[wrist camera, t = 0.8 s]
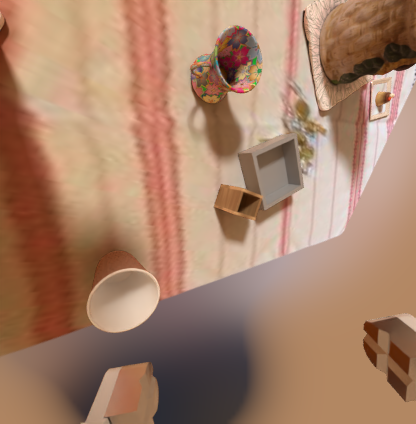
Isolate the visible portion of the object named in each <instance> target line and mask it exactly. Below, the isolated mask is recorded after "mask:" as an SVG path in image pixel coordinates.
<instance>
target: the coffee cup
mask: <svg viewBox="0 0 416 424" xmlns="http://www.w3.org/2000/svg"><path fill="white" fill-rule="evenodd" d="M159 298H160V287H159V284H158V282H157V280H156V278H155V277H154V276H153V275H152V274H150V273H149V272H147V271H146V270H145V269H144V268H143V266H142V265H141V264H140V263H139V262H138V261H137V260H136V259H135V258H134V257H133V256H132V255H131V254H129V253H127V252H125V251H113V252H110V253H108V254H106V255H105V256H104V257H103V258H102V259H101V260H100V262H99V263H98V265H97V267H96V272H95V277H94V281H93V286H92V291H91V293H90V295H89V298H88V301H87V315H88V318H89V320H90V321H91V323H92V324H93V325H94V326H95V327H97V328H98V329H100V330H103V331H105V332H111V333H117V332H124V331H128V330H131V329H133V328H135V327H137V326H139V325H140V324H142V323H143V322H144V321H145V320H147V319H148V318H149V317H150V315H151V314H152V313H153V312H154V310H155V308H156V307H157V304H158V302H159Z"/></svg>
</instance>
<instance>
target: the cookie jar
mask: <svg viewBox="0 0 416 424" xmlns="http://www.w3.org/2000/svg"><path fill="white" fill-rule="evenodd" d="M303 11H304V10H303ZM304 27H305V32H306V36H307V39H308V44H309V55H310V61H311V67H312V72H313V79H314V84H315V91H316V98H317V102H318V106H319V108H320V110H322V111H327V110H330V109H331V108H332V107H333V106H334V105H336V104H337V103H338V102H340V101H342V100H344V99H346V98H347V97H348V96H349V95H351V94H352V93H353V92H355V91H356V90H358V89H359V88H360V87H362V86H363V85H365V84H367V83H369V82H370V81H371V80H372V79H373V76H374V75H384V74H386V73H389V72H390V71H392V70H396V71H402V70H406V69H408V68H410V67H412V66H413V65H415V64H416V0H319V1H318V2H316V1H314V2H313V3H312V4H310V5H308V6H307V7H306V8H305V16H304Z"/></svg>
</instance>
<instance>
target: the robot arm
mask: <svg viewBox="0 0 416 424" xmlns="http://www.w3.org/2000/svg"><path fill="white" fill-rule="evenodd" d="M3 25H4V16H3V14H2V12H1V11H0V30H1V28H2V27H3ZM364 330H365V331H366V333H367V335H366V336H365V337H364V339H363V343H364V344H363V346H364V349H365V352H366V355H367V356H368V358H369V360H370V361H371V362H372V364H373V365H374V366H375V367H376V368H377V369H379V370H380V371H382V372H384V373H386V376H387V381H388V382H389V384H390V385H391V386H392V387H393V388H394V389H395V390H396V392H397V393H398V394H399V395H400V396H401V397H402V399H403V400H404V401H405V402H409V401H415V400H416V318H414V317H413V316H412V315H409V314H407V313H405V314H400V315H394V316H388V317H383V318H378V319H374V320H369V321H366V322H365V323H364ZM152 373H153V367H152V364H151V362H147V363H141V364H134V365H128V366H123V367H117V368H111V369H109V370H108V371H107V372H106V373H105V376H104V378H103V380H102V383H101V385H100V388H99V390H98V393H97V395H96V398H95V400H94V403H93V405H92V407H91V410H90V412H89V415H88V417H87V420H86V422H83V423H80V424H154V422H153V419H152V417H153V416H154V414H155V413H156V411H157V407H158V383H157V380H156V378H155V377H153V376H152Z"/></svg>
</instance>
